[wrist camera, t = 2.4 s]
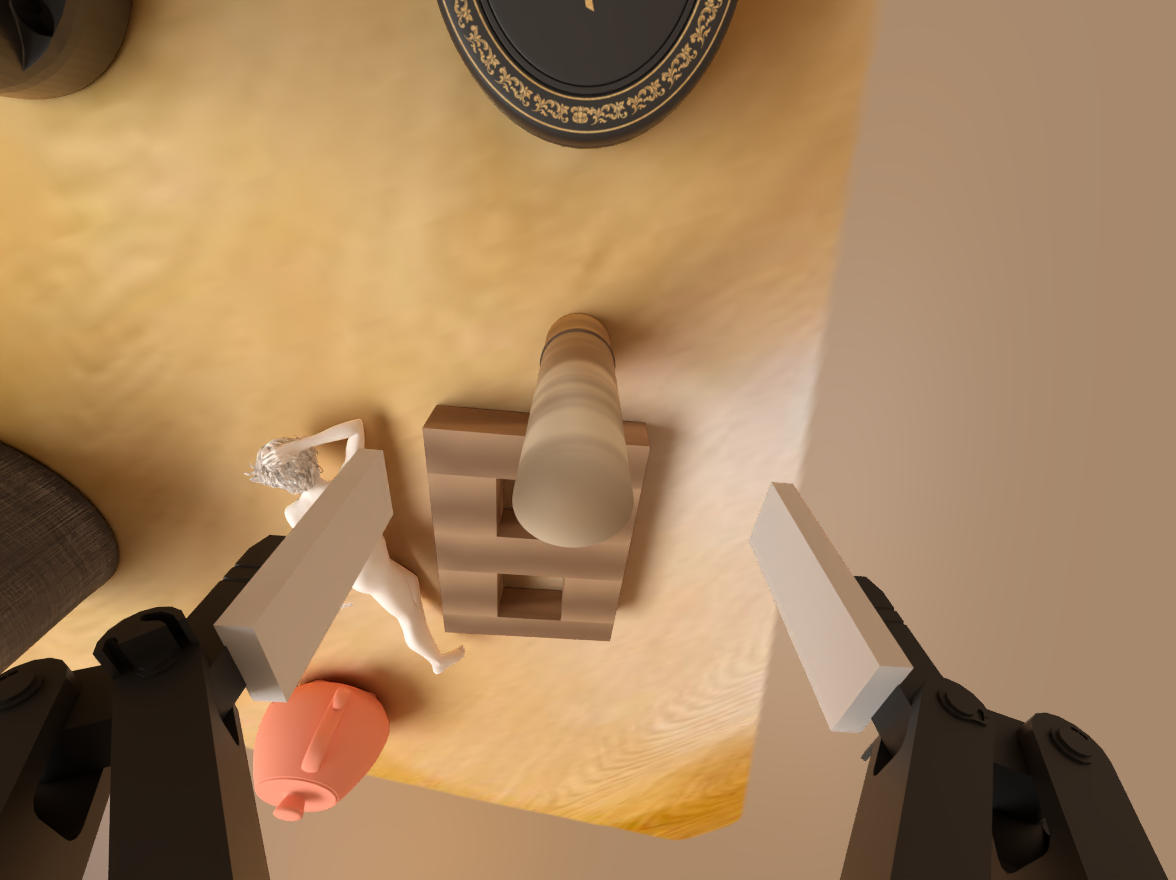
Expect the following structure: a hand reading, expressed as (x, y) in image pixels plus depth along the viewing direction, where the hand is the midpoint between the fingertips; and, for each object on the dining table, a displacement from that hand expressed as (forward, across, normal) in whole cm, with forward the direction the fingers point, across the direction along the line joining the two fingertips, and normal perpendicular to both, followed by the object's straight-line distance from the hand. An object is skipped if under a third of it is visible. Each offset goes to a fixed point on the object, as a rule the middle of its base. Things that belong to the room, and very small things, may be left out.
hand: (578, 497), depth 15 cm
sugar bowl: (+15, -22, -42) cm, 49 cm away
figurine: (+15, -13, -18) cm, 27 cm away
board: (+14, -2, -15) cm, 21 cm away
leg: (+14, 0, 0) cm, 14 cm away
